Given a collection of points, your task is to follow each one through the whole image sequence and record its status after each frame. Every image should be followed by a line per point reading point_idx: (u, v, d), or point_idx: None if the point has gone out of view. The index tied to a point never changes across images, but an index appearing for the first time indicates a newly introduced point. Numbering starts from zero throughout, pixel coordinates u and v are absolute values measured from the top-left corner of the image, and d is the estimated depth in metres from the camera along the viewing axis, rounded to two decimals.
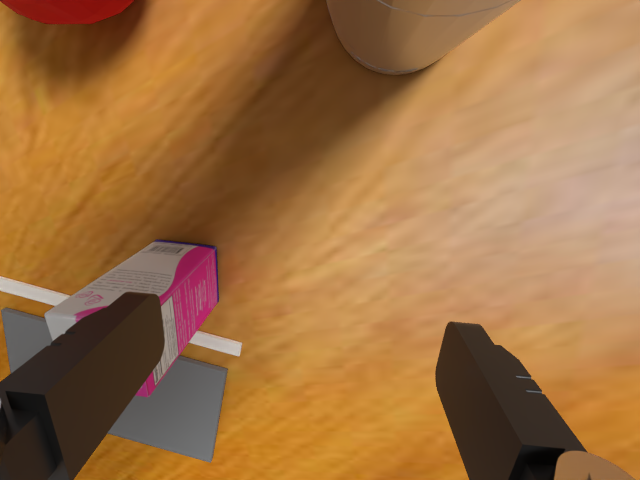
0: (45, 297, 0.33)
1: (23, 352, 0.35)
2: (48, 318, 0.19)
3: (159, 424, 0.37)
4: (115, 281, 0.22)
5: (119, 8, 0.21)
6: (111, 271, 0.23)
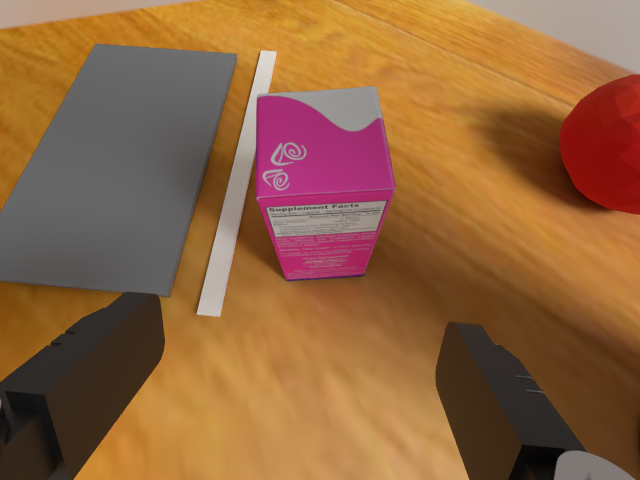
0: (257, 93, 0.30)
1: (180, 63, 0.31)
2: (371, 89, 0.15)
3: (59, 200, 0.25)
4: None
5: (594, 188, 0.23)
6: None
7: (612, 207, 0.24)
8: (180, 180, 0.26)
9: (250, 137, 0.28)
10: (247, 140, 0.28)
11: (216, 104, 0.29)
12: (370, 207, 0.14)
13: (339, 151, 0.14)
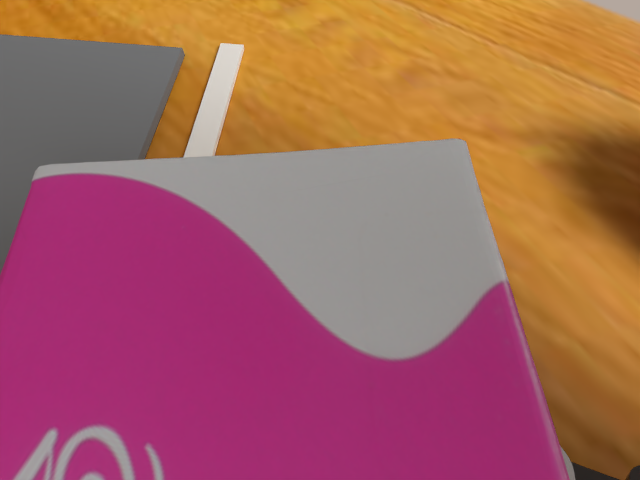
0: (210, 109, 0.19)
1: (95, 62, 0.20)
2: (452, 152, 0.04)
3: None
4: None
5: None
6: None
7: None
8: None
9: None
10: None
11: (142, 127, 0.18)
12: None
13: None
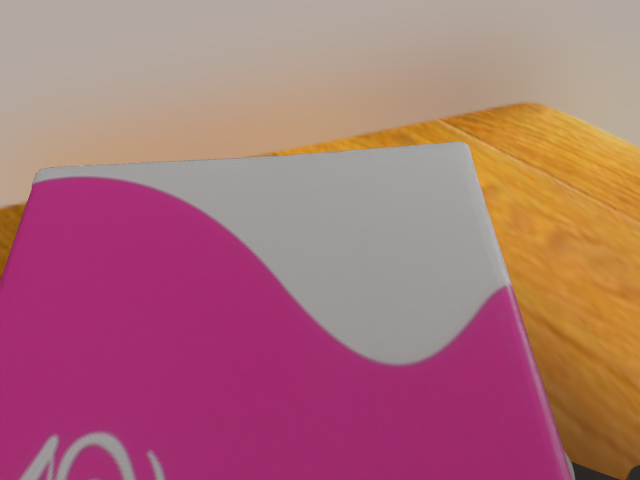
0: None
1: None
2: (455, 155, 0.04)
3: None
4: None
5: None
6: None
7: None
8: None
9: None
10: None
11: None
12: None
13: None
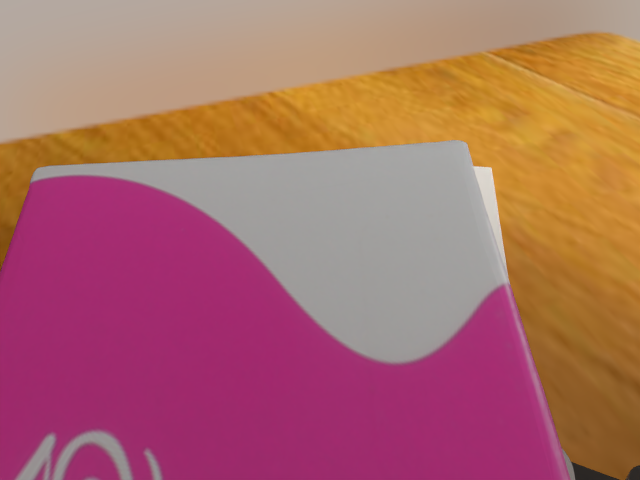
0: None
1: None
2: (453, 154, 0.04)
3: None
4: None
5: None
6: None
7: None
8: None
9: None
10: None
11: None
12: None
13: None
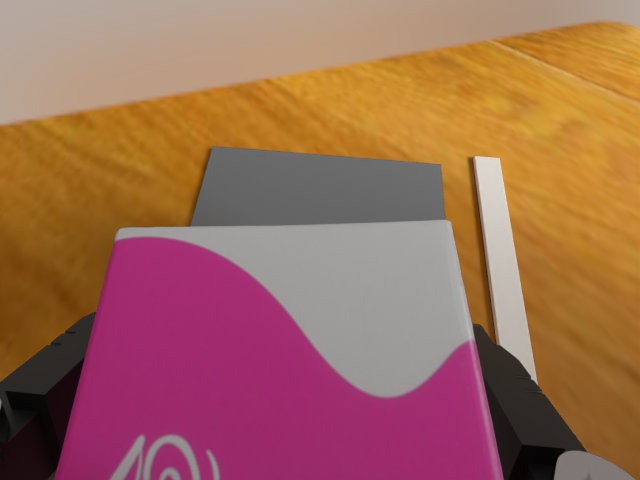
0: (498, 242, 0.18)
1: (358, 184, 0.19)
2: (439, 232, 0.05)
3: None
4: None
5: None
6: None
7: None
8: None
9: (517, 338, 0.16)
10: (514, 345, 0.16)
11: None
12: None
13: None
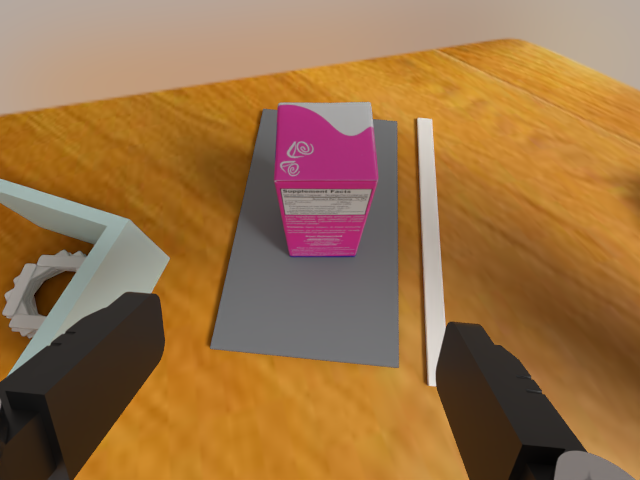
0: (426, 162, 0.32)
1: None
2: (366, 104, 0.19)
3: (275, 271, 0.27)
4: None
5: None
6: None
7: None
8: (380, 252, 0.28)
9: (431, 207, 0.30)
10: (429, 210, 0.30)
11: (392, 173, 0.31)
12: (359, 194, 0.18)
13: (338, 150, 0.18)
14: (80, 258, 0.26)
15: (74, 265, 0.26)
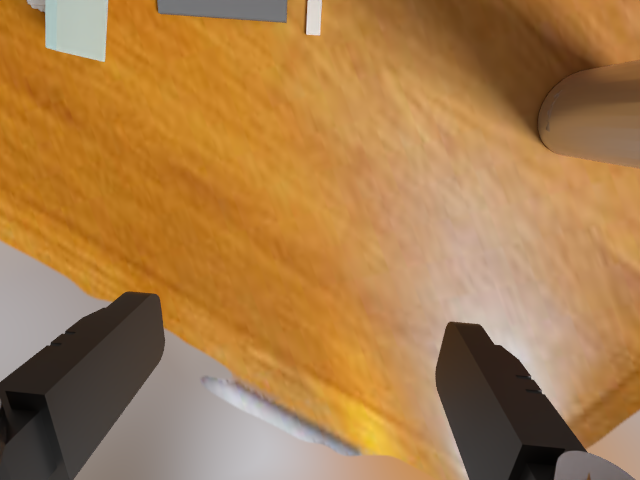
0: None
1: None
2: None
3: None
4: None
5: None
6: None
7: None
8: None
9: None
10: None
11: None
12: None
13: None
14: None
15: None
